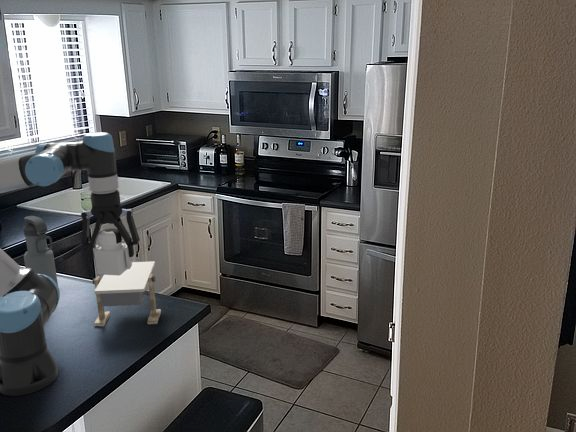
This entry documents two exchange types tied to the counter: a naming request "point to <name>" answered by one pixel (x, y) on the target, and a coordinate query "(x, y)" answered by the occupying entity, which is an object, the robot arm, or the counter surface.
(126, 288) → the trapdoor flap
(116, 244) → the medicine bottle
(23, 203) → the counter surface
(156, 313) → the flap stand
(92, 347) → the counter surface
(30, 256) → the water bottle
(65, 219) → the counter surface
